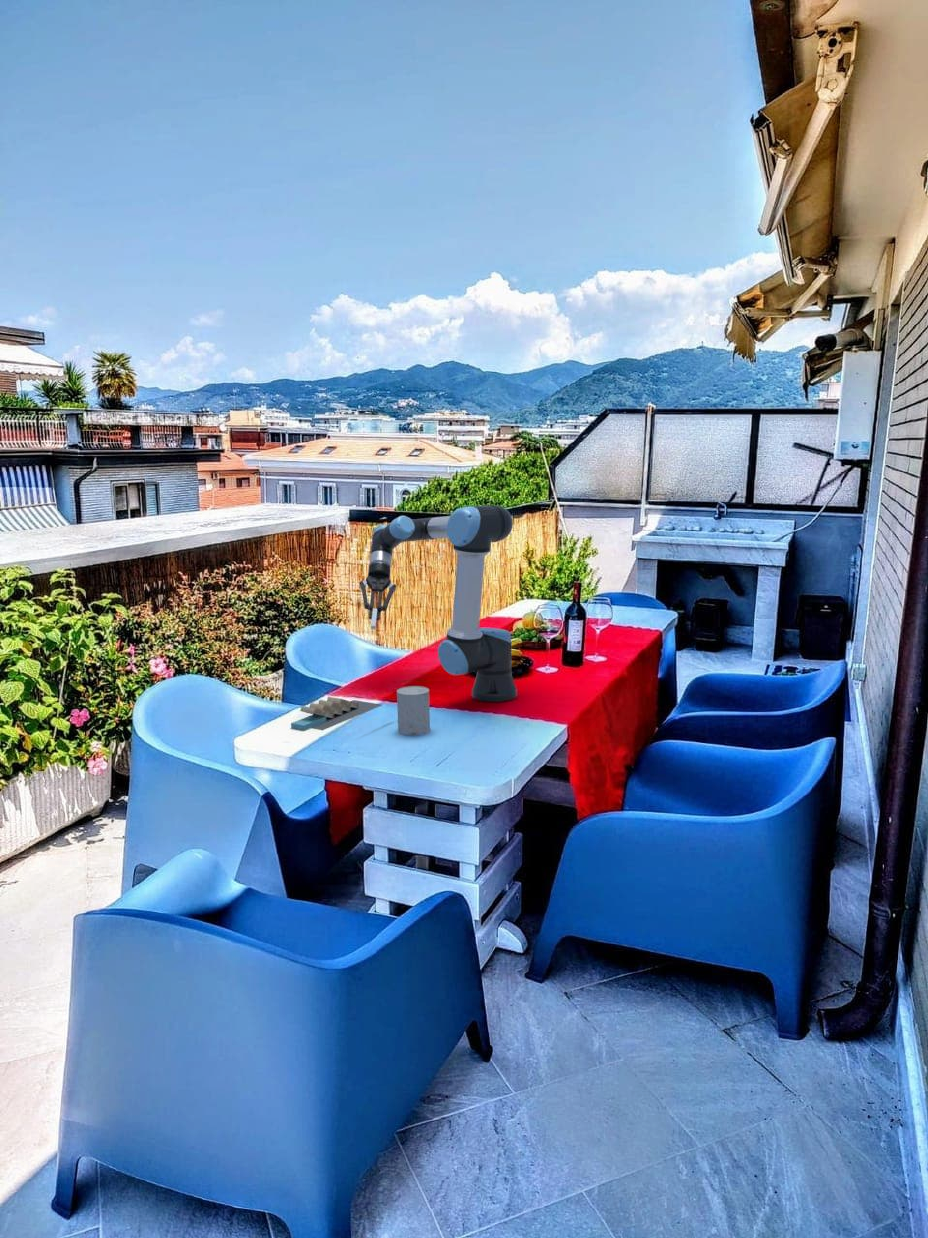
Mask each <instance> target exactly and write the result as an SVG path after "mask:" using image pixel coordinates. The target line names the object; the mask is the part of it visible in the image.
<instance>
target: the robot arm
mask: <svg viewBox="0 0 928 1238" xmlns="http://www.w3.org/2000/svg"><path fill="white" fill-rule="evenodd" d="M513 526H514V521H513V517H512V515H511V513H510V511H508V509H507V508H505V507H503V506H501V505H497V504H491V505H476V506H473V505H471V506H470V505H469V506H465V507H459V508H457V509H455V510H454V511H453V512H452V513H451V514H450V515H447V516H436V517H425V518H414V519H412V518H410V517H408V516H406V515H399V516H398V517H396V518H394V519H393V520H392V521H391V522H390V523H389V524H388V525H386V524H381V525H377V526H376V527H375V528H374V529H373V532H372V537H371V548H370V555H369V562H368V563H369V564H368V565H369V566H368V570H367V571H368V574H367V577H366V578H365V580H360V581H359V582H358V585H359V588H360V590H361V593H362V601H363V606H364V609H365V610H368V619H369V620H370V621H371V622H370V630H376V626H377V621H380V619H381V612H386V611H387V610H388V607H389V604H390V602H391V599H392V596H393V594H394V593H395V592H396V591H397V584H396V583H395V584H393V583H392V582H391V571H392V570H391V568H392V562H393V561H392V560H393V559H392V557H393V552H394V549H395V548H396V547H397V546H399V545H401V543H404V542H405V543H406V542H415V541H416V542H417V541H425V540H426V541H428V540H429V541H430V540H439V539H440V540H441V539H447V540H449V542H450V544H451V545H452V549H453V551H454V552H455V553H456V555H457V557H456V559H457V560H456V570H455V571H456V572H455V581H454V585H455V586H454V596H453V610H452V621H451V622H452V623H451V626H450V628H448V629H447V630H446V638H445V640H443V641H441V642H440V644H439V645H438V647H437V655H438V657H437V658H438V661H439V663H440V665H441V666H442V669H444V671H446V672H447V673H448V674H450V675H453V676H459V675H466V674H469V673H472V672H476V676H475V680H474V684H473V687H472V688H471V697H472V698H473V699H474V700H478V701H480V702H481V701H482V702H487V703H489V702H490V703H496V702H497V703H498V702H500V703H501V702H506V701H511V700H514V699H515V698H517V697H518V690H517V687H516V683H515V680H514V678H513V675H512V643H513V642H512V637H511V636H512V634H511V632H510V631H509V630H506V629H502V628H495V627H480V618H481V606H482V592H483V585H484V584H483V583H484V572H485V571H484V570H485V558H486V556H487V555H488V554H490V552H491V545H492V543H498V542H501V541H502V540H505V539H506V538H507V537H508V536H510V534H511V532H512V530H513ZM367 586H368V588H369V589H370V590H371V591H370V593H371V594H370V602H368V595H367ZM387 589H388V592H387V594H386V598H385V599H384V600H385V601H384V603H382V602H383V594H384V591H386V590H387ZM376 592H378V600H377V607H376V608H374V606H375V605H374V604H375V597H376ZM382 604H383V605H382Z"/></svg>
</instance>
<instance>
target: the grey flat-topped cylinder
mask: <svg viewBox="0 0 928 1238" xmlns="http://www.w3.org/2000/svg"><path fill="white" fill-rule="evenodd" d="M396 697H397V698H396V699H397V700H396V701H397V725H398V726H397V732H398V734H400V735H403V736H407V737H408V736H410V737H412V736H413V737H415V736H423V735H426V734H428V733H430V732H431V719H430V718H431V717H430V715H431V713H430V689H429V688H428V687H426V686H420V685H411V686H410V685H409V686H403V687H400V688H398V689H397V690H396Z"/></svg>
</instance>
